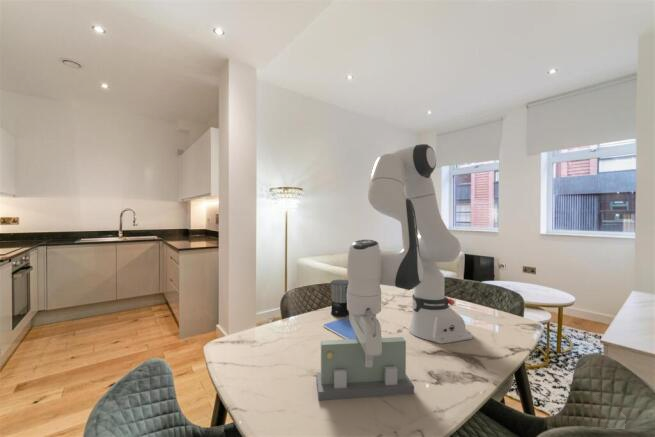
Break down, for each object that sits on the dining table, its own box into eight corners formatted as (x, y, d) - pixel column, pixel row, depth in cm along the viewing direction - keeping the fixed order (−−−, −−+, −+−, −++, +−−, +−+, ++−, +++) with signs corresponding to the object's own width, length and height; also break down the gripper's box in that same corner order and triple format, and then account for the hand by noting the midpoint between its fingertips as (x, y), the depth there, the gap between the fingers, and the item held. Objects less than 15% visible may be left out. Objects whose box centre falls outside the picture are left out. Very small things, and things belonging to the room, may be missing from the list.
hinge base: (401, 375, 75) (401, 353, 75) (414, 393, 67) (414, 370, 67) (316, 380, 73) (316, 358, 73) (318, 400, 65) (318, 375, 65)
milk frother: (328, 316, 120) (328, 283, 120) (335, 305, 135) (335, 275, 135) (360, 319, 117) (360, 285, 117) (363, 307, 132) (364, 277, 132)
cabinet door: (402, 374, 72) (402, 337, 72) (407, 382, 69) (408, 343, 69) (320, 378, 70) (320, 340, 70) (322, 388, 66) (322, 347, 66)
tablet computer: (378, 336, 101) (378, 332, 101) (354, 346, 94) (354, 342, 94) (345, 320, 117) (345, 317, 117) (321, 327, 109) (321, 324, 109)
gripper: (389, 317, 60) (388, 379, 60) (366, 291, 80) (365, 338, 80) (361, 318, 59) (361, 380, 59) (345, 292, 80) (344, 338, 80)
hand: (363, 355), depth 70 cm, fingers open, 8 cm apart
